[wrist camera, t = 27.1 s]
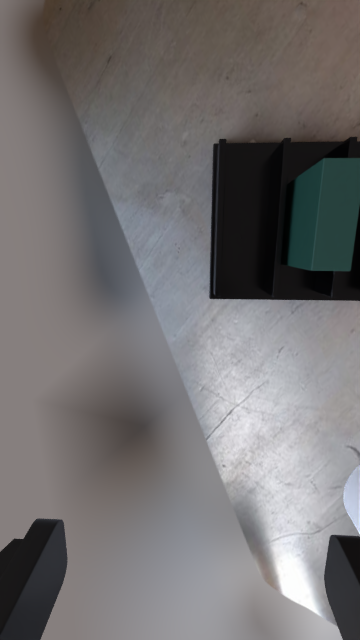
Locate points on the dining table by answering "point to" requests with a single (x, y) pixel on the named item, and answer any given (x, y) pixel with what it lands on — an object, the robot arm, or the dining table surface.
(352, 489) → the canister
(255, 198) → the rack
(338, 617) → the robot arm
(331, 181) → the green book
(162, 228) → the dining table surface
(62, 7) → the dining table surface
